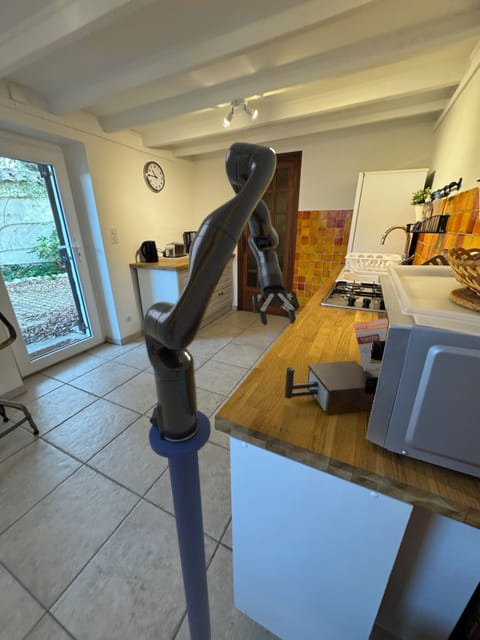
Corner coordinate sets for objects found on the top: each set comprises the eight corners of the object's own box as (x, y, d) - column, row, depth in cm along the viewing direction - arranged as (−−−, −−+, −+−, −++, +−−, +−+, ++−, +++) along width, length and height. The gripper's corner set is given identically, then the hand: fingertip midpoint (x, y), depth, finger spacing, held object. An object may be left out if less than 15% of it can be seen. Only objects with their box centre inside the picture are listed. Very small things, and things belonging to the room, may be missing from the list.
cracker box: (368, 391, 76) (355, 333, 69) (365, 378, 81) (352, 322, 74) (422, 387, 71) (415, 323, 63) (416, 373, 76) (408, 312, 68)
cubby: (326, 414, 67) (329, 390, 65) (305, 385, 80) (308, 364, 77) (379, 409, 69) (384, 385, 67) (351, 381, 82) (355, 360, 80)
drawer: (291, 414, 67) (294, 380, 63) (278, 389, 77) (280, 359, 74) (371, 406, 70) (378, 373, 67) (349, 383, 81) (354, 353, 77)
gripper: (251, 272, 79) (258, 319, 72) (294, 271, 81) (305, 317, 74) (247, 286, 86) (254, 330, 79) (288, 284, 88) (297, 327, 81)
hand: (279, 323), depth 77 cm, fingers open, 8 cm apart
